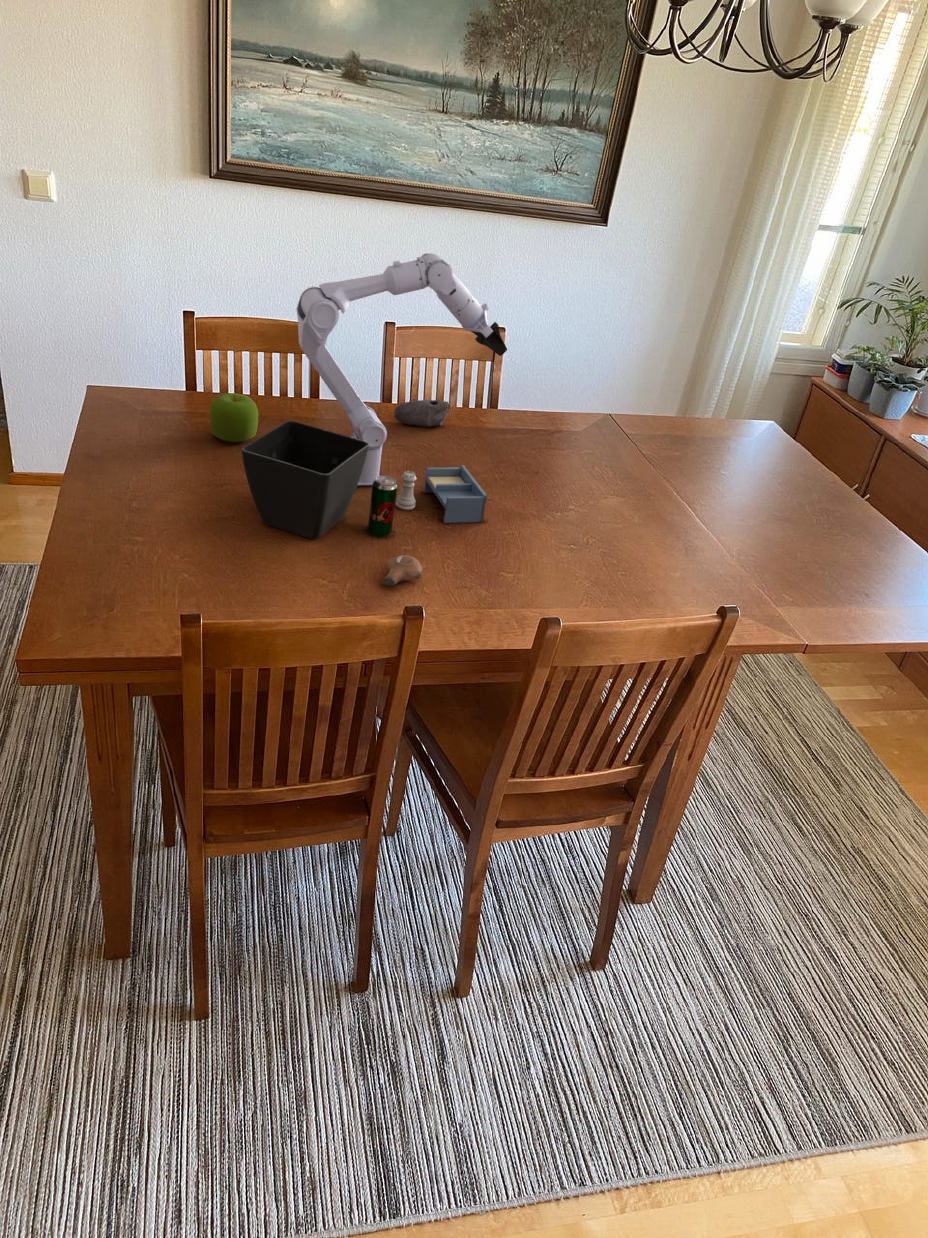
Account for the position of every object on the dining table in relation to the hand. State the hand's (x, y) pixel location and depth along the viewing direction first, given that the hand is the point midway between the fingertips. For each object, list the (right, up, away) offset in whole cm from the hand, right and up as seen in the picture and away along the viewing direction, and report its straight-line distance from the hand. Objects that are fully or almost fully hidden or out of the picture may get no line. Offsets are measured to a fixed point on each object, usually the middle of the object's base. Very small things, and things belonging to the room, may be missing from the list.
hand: (497, 346), depth 198 cm
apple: (-62, -18, +15) cm, 66 cm away
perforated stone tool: (-19, -9, +40) cm, 45 cm away
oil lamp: (-20, -53, -26) cm, 62 cm away
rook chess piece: (-20, -36, -1) cm, 41 cm away
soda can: (-25, -43, -12) cm, 51 cm away
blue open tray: (-10, -35, +3) cm, 37 cm away
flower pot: (-41, -40, -13) cm, 59 cm away
